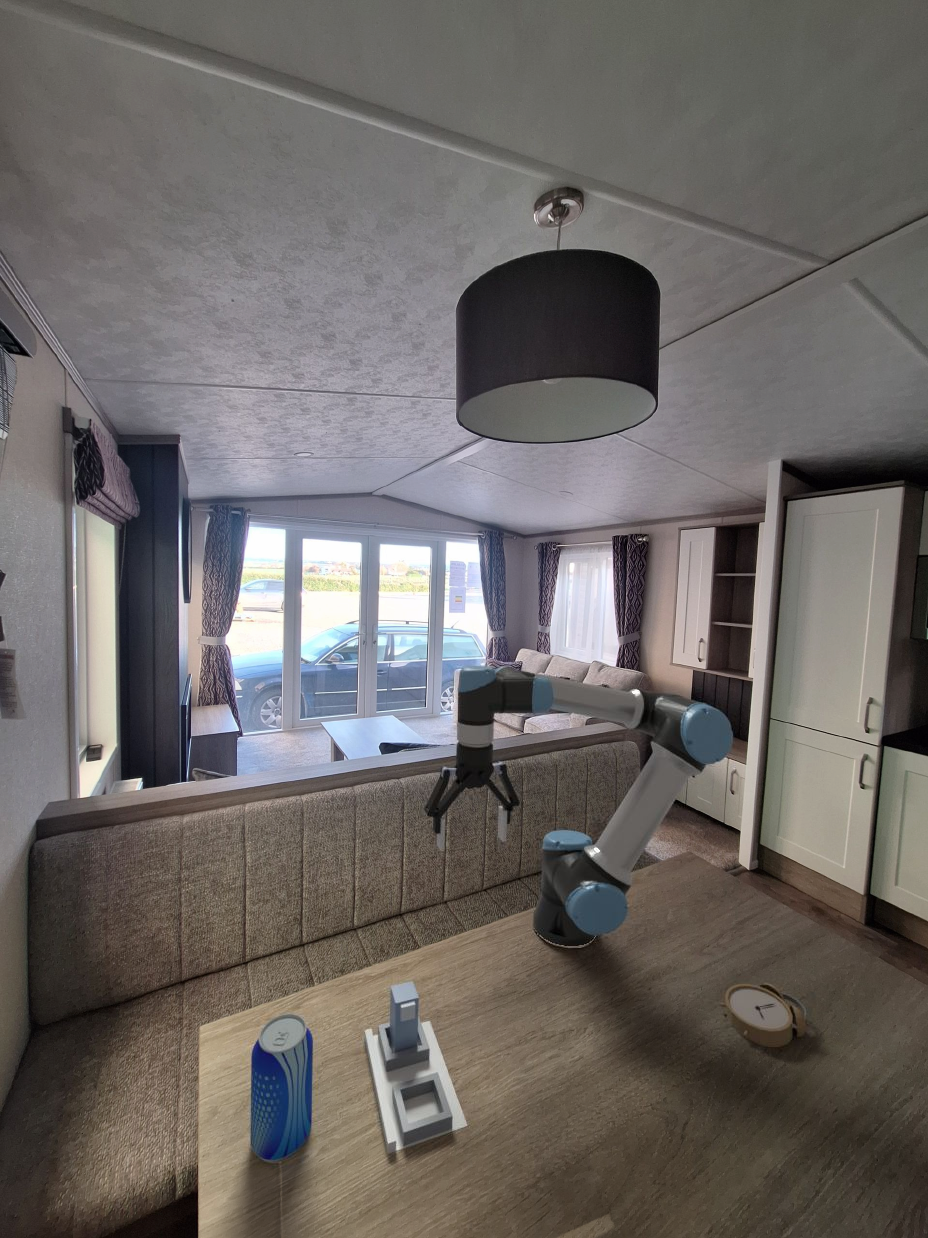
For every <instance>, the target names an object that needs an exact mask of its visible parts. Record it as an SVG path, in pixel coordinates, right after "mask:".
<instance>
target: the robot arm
mask: <svg viewBox="0 0 928 1238" xmlns="http://www.w3.org/2000/svg"><path fill="white" fill-rule="evenodd" d="M551 710H554V711H560V712H565V713H568V714H569V713H570V714H573V715H580V716H585V717H590V718H595V719H596V718H597V719H601V720H607V721H610V722H615V723H620V724H624V726H625V727H626V728H627V729H630V730H636V731H639V732H642V733H644V734H646V735H649V736H651V737H653V738H652V739H651V741H650V746H651V749H652V753H651V755H650V757H649V759H648V760H647V762H646V763H645V765H644V766H643V768H642V770H641V771H640V772H639V775H637V777H636V779H635V781H634V782H633V784H632V786H631V787H630V789H629V790H628V792H627V794H626V795H625V797H624V798H623V800H622V802H621V803H620V804H619V806H618V808H617V809H616V811H615V812H614V814H613V816H612V817H611V819H610V820H609V822H608V823H607V825H606V826H605V828H604V830H603V832H602V833H601V835H600V836H599V838H598V840H597V841H596V843H595V844H593V839H592V838H591V837H590V836H589V835H587V834H586V833H583V832H581V831H575V830H567V829H565V830H564V829H561V830H560V829H559V830H552V831H551V832H548V833H547V834H545V835H544V837H543V840H542V841H543V843H542V847H541V850H542V854H541V855H542V860H541V861H542V862H541V863H542V864H541V890H540V895H539V898H538V901H537V903H536V907H535V910H534V911H533V915H532V927H533V926H534V928H535V930H536V931H537V933H538V934H539V935H541V936H542V937H543V938H544V939H546V940H548V941H550V942H552V943H555V944H559V945H564V946H579V945H584V944H587V943H589V942H590V941H592V940H593V939H594V937H595V935H596V936H602V935H604V934H605V935H608V934H611V933H613V932H615V931H617V929H619V928H620V927H621V926H622V925H623V924H624V922H625V920H626V918H627V916H628V913H629V912H628V911H629V907H628V900H627V898H626V895H627V893H628V891H629V890H630V888H631V886H632V885H633V878H632V873H631V871H632V870H633V868H634V867H635V865H636V864H637V862H638V861H639V859H640V857H641V856H642V854H643V852H644V850H645V849H646V848H647V846H648V844H649V842H650V841H651V840H652V838H653V836H654V835H655V832H656V831H657V830H658V828H659V826H660V825H661V823H662V822H663V820H664V819H665V817H666V815H667V814H668V812H669V811H670V809H671V807H672V806H673V804H674V802H675V801H676V799H677V798H678V796H679V795H680V793H681V792H682V790H683V787H684V786H685V785H686V783H687V782H688V780H689V778H690V777H692V776H697V775H702V772H703V771H704V769H705V768H706V767H707V765H714V764H716V763H718V762H721V761H722V760H724V759H725V758H726V757H727V756H728V754H729V752H730V751H731V749H732V746H733V743H734V740H733V739H734V733H733V731H732V725H731V721H730V720H729V719H728V717H727V716H726V715H725V714H724V713H723V711H721V710H719V709H718V708H715V707H713V706H711V705H709V704H707V703H705V702H700V701H697V700H695V699H694V700H693V699H690V698H687V697H684V696H682V695H679V694H676V693H675V694H674V693H669V692H668V693H667V692H655V691H648V690H642V689H637V688H633V689H631V690H629V691H625V690H621V689H616V688H615V689H614V688H609V687H605V686H600V685H595V684H589V683H585V682H579V681H575V680H570V679H566V678H560V677H555V676H551V675H545V674H539V673H536V672H529V671H525V670H519V669H516V668H514V667H513V666H500V667H498V668H496V669H495V668H494V667H490V666H484V665H483V666H482V665H470V666H469V665H467V666H464V667H462V668H461V669H460V670H459V674H458V687H457V723H456V724H457V725H456V740H457V741H458V742H457V743H456V747H455V748H456V753H455V755H456V758H455V762H456V763H455V766H454V767H447V766H446V765H443V766H441V768H440V772H439V773H440V774H439V778H438V779H437V782H436V784H435V786H434V788H433V790H432V792H431V794H430V796H429V798H428V800H427V802H426V805H425V807H424V809H423V810H424V813H425V814H426V815H427V817H428V818H432V831H433V832H434V834H435V835H436V846H437V848H438V849H439V851H440V852H445V843H446V841H445V840H446V818H445V817H444V816H445V813H446V812H447V811H448V810H449V809H450V807H451V806H452V805H453V803H454V802H455V801H456V799H457V798H458V796H459V795H460V794H461V793H463V792H464V791H465V790H466V789H468V790H470V789H471V790H472V789H474V788H478V789H480V788H481V789H482V788H483V787H484V786H485V785H486V787H487V788H488V789H489V790H490V792H491V793H492V794H493V795H494V796H495V798H496V799H497V800H498V801H499V803H501V805H498V813H497V815H498V817H497V819H498V820H497V821H498V822H497V838H498V839H500V841H502V843H506V842H507V831H508V829H507V827H508V826H507V825H510V823H511V821H512V820H511V818H512V817H511V815H512V812H513V811H514V807H518V806H519V805H520V803H521V802H520V800H519V798H518V794H517V792H516V791H515V789H514V786H513V784H512V782H511V780H510V778H509V775H508V766H507V764H505V763H504V762H503V761H501V760H498V761H497V762H496V763H493V759H494V757H493V756H494V744H493V743H492V742H494V729H495V728H494V726H495V722H494V721H495V715H496V714H499V715H500V714H531V715H536V714H546V713H548V712H549V711H551ZM494 772H495V773H496V774H497V775H498V777H499V779H500V781H501V783H502V786H503V788H504V790H505V793H506V795H507V796H508V799H507V798H506V797H505V795H504V794H503V793H502V792H501V791H500V789H499V788H498V787H497V786H496V784H495V783H494V782H493V781H492V780H491V777H492V775H493V773H494ZM454 775H455V777H456V778H455V779H454V780H453V782H452V783H451V784H452V785H451V786H450V788H448V790H447V787H448V784H449V781H450V780H451V779H452V778H453V776H454ZM446 790H447V792H446V793H445V791H446ZM444 793H445V794H444ZM534 928H533V929H534Z"/></svg>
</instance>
